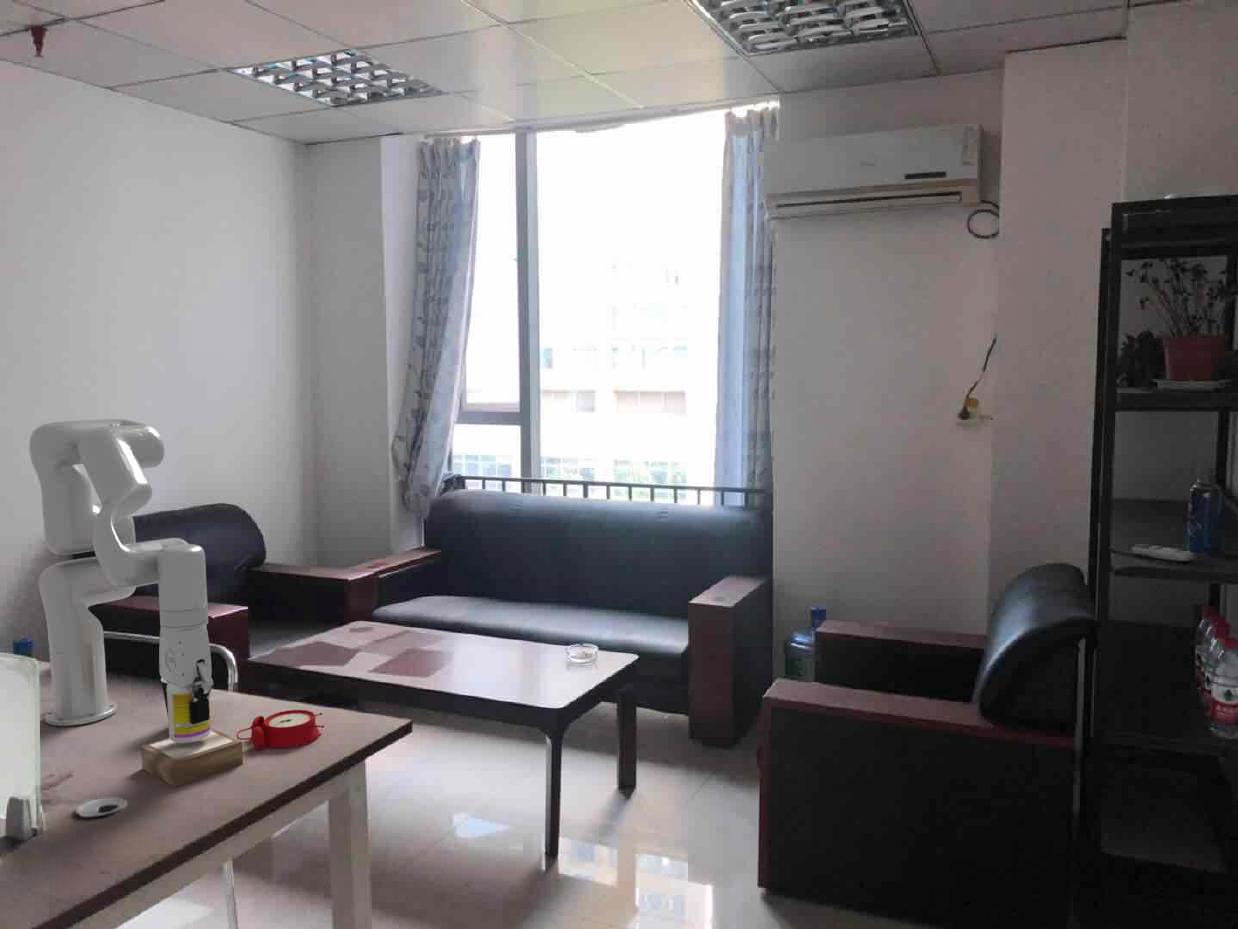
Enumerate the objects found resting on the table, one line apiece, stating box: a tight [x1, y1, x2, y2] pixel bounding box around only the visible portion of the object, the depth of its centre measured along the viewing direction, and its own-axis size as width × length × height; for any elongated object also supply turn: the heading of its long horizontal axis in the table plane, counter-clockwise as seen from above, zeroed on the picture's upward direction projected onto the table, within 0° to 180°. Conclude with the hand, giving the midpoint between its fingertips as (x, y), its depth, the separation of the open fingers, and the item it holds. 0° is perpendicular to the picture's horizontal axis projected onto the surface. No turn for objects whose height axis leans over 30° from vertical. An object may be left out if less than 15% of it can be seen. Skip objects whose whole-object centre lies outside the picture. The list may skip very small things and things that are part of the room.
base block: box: [140, 727, 244, 788], centre depth 166 cm, size 12×12×4 cm
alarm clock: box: [236, 709, 325, 751], centre depth 178 cm, size 10×6×15 cm
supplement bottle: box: [167, 678, 212, 743], centre depth 165 cm, size 7×7×13 cm
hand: (189, 716), depth 166 cm, fingers closed on supplement bottle, 6 cm apart
